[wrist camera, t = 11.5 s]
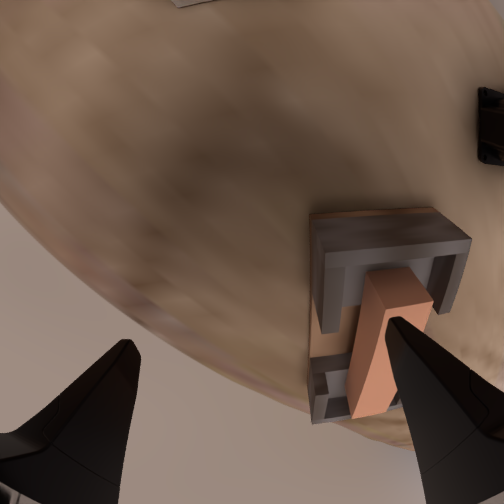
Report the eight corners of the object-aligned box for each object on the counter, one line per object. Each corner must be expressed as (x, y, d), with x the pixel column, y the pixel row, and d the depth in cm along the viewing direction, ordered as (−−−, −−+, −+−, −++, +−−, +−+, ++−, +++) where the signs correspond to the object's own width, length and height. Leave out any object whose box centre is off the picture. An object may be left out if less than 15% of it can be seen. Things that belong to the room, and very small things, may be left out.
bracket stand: (432, 207, 19) (472, 238, 14) (390, 370, 29) (403, 406, 24) (309, 214, 20) (325, 252, 15) (306, 383, 29) (311, 424, 25)
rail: (365, 271, 18) (385, 309, 15) (409, 266, 18) (433, 301, 14) (344, 386, 25) (351, 418, 21) (376, 380, 25) (385, 411, 21)
